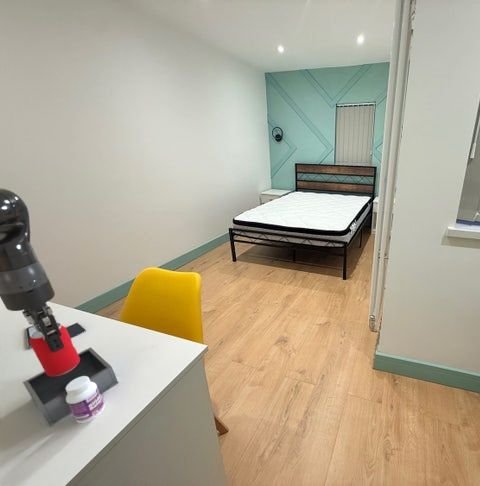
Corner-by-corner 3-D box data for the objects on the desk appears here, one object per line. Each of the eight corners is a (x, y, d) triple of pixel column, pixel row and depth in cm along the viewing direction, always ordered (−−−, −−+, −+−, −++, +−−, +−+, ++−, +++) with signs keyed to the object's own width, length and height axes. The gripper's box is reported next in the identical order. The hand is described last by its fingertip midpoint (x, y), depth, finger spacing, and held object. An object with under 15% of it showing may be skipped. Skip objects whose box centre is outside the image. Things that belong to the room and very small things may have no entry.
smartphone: (54, 318, 96) (59, 335, 87) (55, 320, 96) (61, 337, 87) (25, 328, 91) (27, 347, 81) (26, 330, 91) (29, 350, 82)
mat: (50, 347, 82) (49, 345, 82) (43, 339, 86) (42, 337, 85) (85, 331, 89) (85, 329, 89) (78, 324, 93) (77, 322, 93)
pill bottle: (100, 419, 61) (86, 389, 57) (72, 427, 59) (55, 397, 56) (109, 399, 66) (96, 370, 62) (83, 406, 64) (68, 377, 60)
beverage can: (77, 354, 69) (60, 317, 65) (84, 365, 66) (67, 327, 62) (44, 370, 65) (23, 331, 60) (50, 383, 61) (29, 343, 57)
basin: (49, 426, 59) (39, 409, 57) (32, 398, 66) (22, 382, 64) (118, 382, 70) (111, 366, 68) (97, 361, 77) (90, 347, 75)
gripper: (-11, 282, 57) (22, 342, 63) (6, 302, 50) (41, 367, 56) (37, 268, 63) (62, 325, 69) (58, 284, 56) (84, 346, 62)
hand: (53, 344), depth 63 cm, fingers closed on beverage can, 6 cm apart
